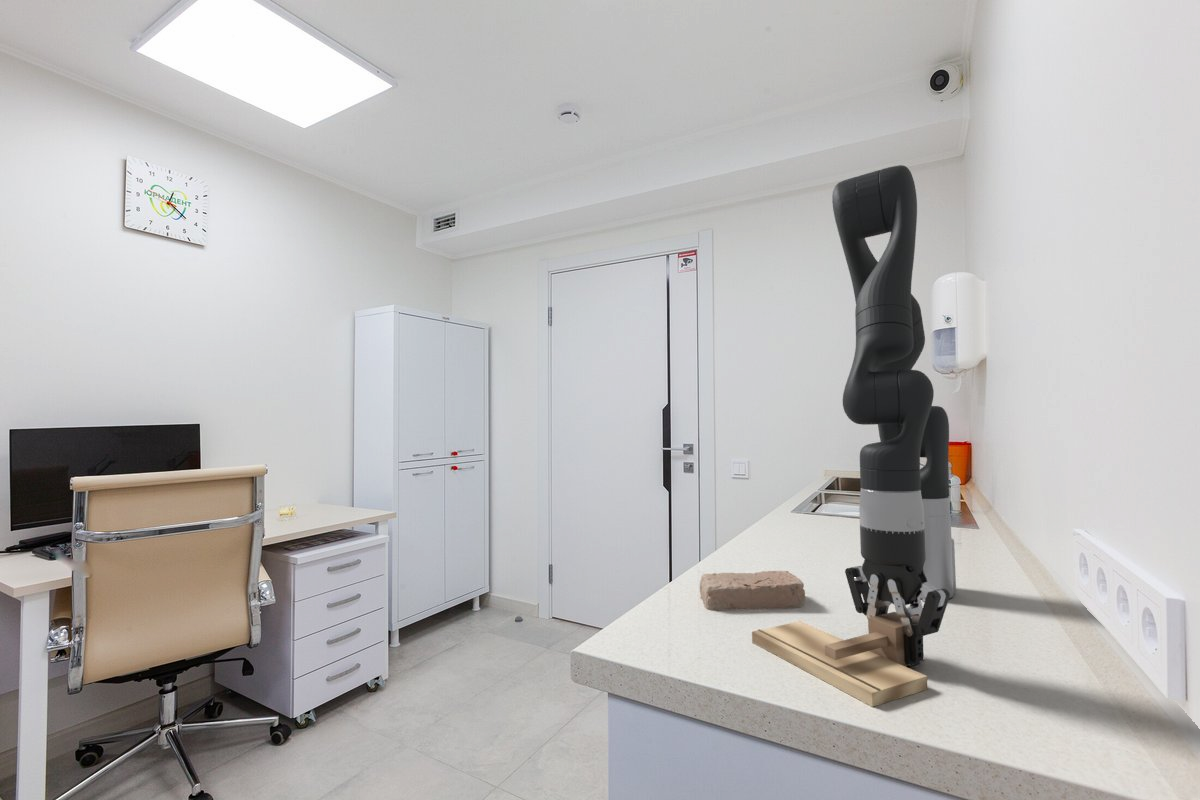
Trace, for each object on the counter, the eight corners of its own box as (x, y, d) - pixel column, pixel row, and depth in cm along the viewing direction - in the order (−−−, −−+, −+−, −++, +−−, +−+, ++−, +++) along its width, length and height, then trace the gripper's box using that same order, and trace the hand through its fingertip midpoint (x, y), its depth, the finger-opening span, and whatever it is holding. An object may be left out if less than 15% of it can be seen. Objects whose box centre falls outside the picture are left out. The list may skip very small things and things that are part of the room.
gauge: (900, 647, 76) (899, 610, 77) (928, 659, 73) (927, 619, 73) (818, 671, 70) (816, 630, 70) (844, 684, 66) (843, 641, 67)
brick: (707, 612, 94) (706, 584, 94) (698, 596, 102) (698, 570, 102) (807, 611, 94) (806, 582, 94) (790, 595, 102) (789, 569, 102)
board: (800, 631, 84) (800, 620, 84) (927, 689, 66) (927, 675, 66) (752, 642, 80) (751, 630, 80) (872, 706, 62) (871, 692, 62)
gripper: (964, 530, 69) (970, 672, 68) (865, 513, 82) (869, 633, 81) (923, 536, 66) (929, 686, 65) (827, 517, 79) (831, 642, 78)
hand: (896, 656), depth 73 cm, fingers closed on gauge, 4 cm apart
